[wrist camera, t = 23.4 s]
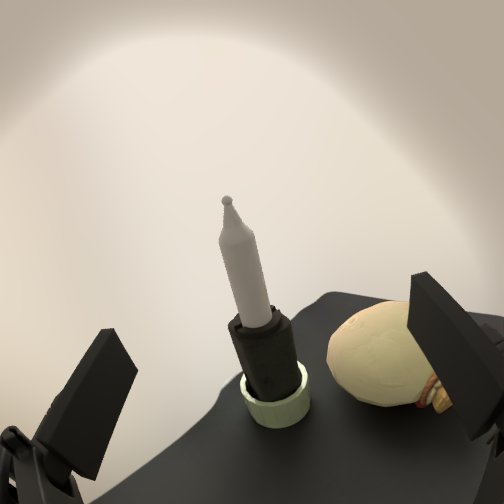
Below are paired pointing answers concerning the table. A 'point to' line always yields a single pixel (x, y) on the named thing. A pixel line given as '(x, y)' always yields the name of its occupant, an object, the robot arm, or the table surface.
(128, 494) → the table surface
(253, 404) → the candle holder
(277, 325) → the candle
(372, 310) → the flask
